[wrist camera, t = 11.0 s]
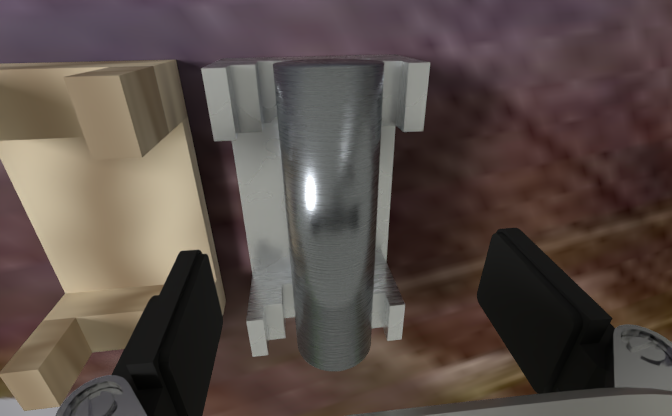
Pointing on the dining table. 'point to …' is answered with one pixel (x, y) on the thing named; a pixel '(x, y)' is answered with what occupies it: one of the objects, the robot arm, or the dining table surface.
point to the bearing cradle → (99, 203)
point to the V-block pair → (268, 191)
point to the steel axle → (331, 200)
